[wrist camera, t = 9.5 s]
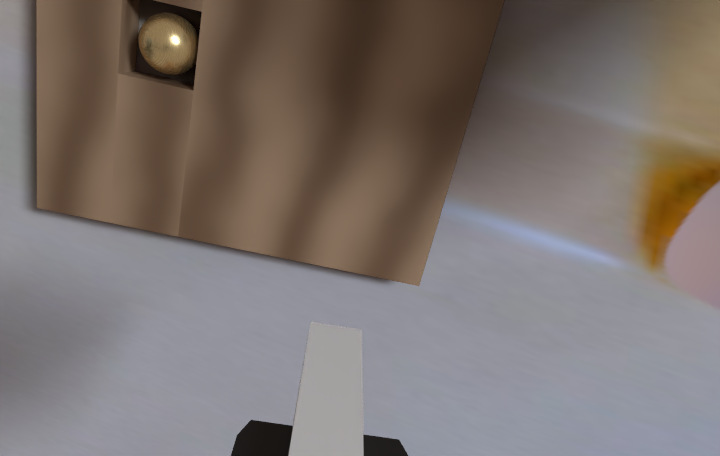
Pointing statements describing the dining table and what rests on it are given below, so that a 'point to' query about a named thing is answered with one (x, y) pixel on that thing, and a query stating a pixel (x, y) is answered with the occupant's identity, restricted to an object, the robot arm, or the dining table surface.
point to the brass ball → (168, 43)
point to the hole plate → (266, 124)
